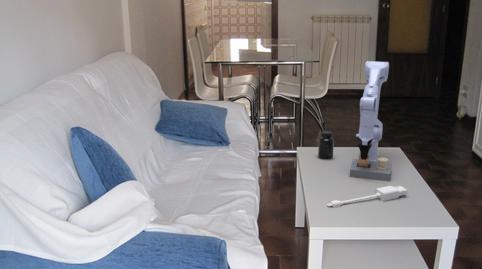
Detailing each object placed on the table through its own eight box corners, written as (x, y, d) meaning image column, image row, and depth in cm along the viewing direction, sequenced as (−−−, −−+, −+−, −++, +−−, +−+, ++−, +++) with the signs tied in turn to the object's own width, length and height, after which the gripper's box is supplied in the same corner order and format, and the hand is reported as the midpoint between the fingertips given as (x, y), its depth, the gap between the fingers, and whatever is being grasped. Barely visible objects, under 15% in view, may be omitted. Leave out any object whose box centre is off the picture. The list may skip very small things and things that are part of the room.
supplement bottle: (315, 156, 227) (316, 131, 224) (327, 153, 230) (328, 129, 227) (323, 160, 222) (324, 135, 218) (336, 158, 224) (337, 133, 221)
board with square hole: (352, 165, 216) (353, 150, 214) (390, 169, 211) (392, 153, 209) (349, 176, 203) (350, 160, 201) (389, 180, 198) (391, 164, 196)
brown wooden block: (358, 169, 210) (359, 154, 208) (367, 170, 209) (369, 155, 207) (357, 173, 207) (358, 157, 205) (367, 174, 206) (368, 158, 204)
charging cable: (324, 206, 178) (324, 198, 177) (399, 191, 188) (400, 183, 187) (331, 212, 173) (331, 203, 172) (407, 196, 183) (408, 188, 182)
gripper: (358, 120, 210) (356, 150, 214) (355, 129, 197) (353, 161, 200) (375, 121, 208) (373, 151, 212) (373, 130, 194) (370, 162, 198)
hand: (364, 156), depth 206 cm, fingers open, 7 cm apart
